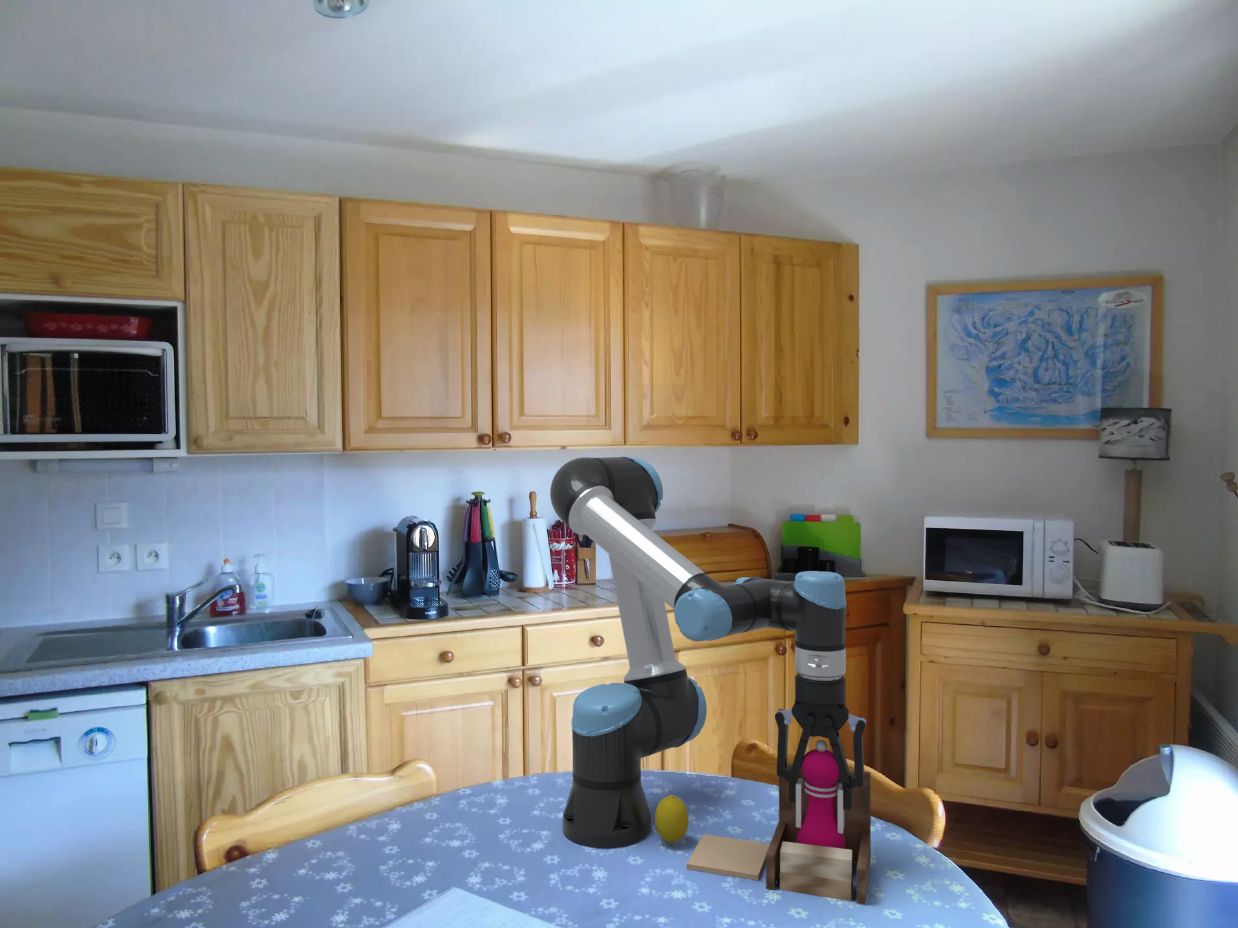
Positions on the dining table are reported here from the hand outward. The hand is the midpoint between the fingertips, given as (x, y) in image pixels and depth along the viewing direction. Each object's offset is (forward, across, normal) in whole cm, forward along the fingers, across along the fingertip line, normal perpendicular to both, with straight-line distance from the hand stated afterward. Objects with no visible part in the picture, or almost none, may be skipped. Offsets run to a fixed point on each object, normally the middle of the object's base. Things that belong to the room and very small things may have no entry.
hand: (820, 826), depth 129 cm
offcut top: (+4, 0, -6) cm, 7 cm away
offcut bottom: (+7, 0, -6) cm, 9 cm away
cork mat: (+7, -14, 0) cm, 15 cm away
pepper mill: (+7, 0, 0) cm, 7 cm away
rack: (+7, 0, -1) cm, 7 cm away
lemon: (+7, -24, +2) cm, 25 cm away
